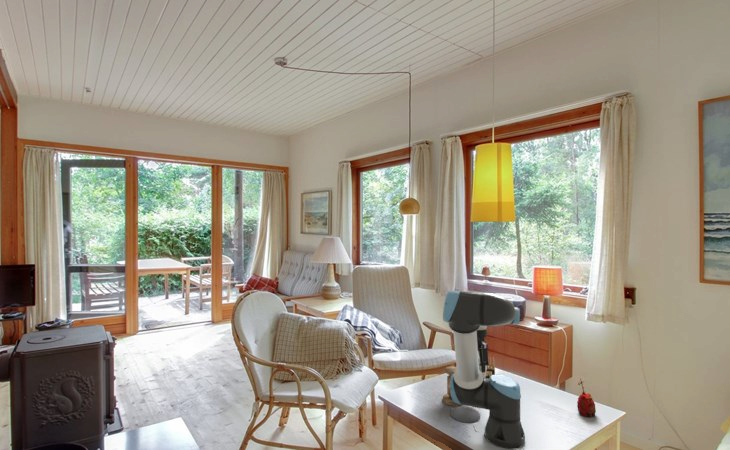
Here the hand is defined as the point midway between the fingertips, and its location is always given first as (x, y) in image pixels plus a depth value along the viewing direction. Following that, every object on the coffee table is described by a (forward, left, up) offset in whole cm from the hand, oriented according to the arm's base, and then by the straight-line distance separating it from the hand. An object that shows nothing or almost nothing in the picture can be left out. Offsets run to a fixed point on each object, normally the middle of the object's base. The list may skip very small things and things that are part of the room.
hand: (478, 374), depth 183 cm
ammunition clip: (+23, -15, -12) cm, 30 cm away
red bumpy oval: (-21, -41, -12) cm, 48 cm away
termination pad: (-13, +13, -12) cm, 22 cm away
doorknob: (0, +13, -12) cm, 17 cm away
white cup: (0, 0, 0) cm, 0 cm away
